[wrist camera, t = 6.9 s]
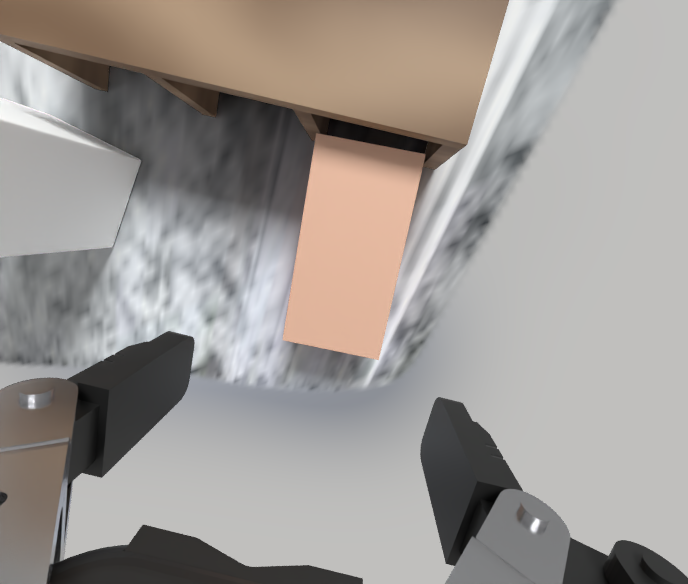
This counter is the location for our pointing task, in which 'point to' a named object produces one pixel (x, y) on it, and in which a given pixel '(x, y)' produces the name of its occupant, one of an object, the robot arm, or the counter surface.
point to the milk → (58, 185)
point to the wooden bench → (284, 56)
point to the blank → (351, 244)
